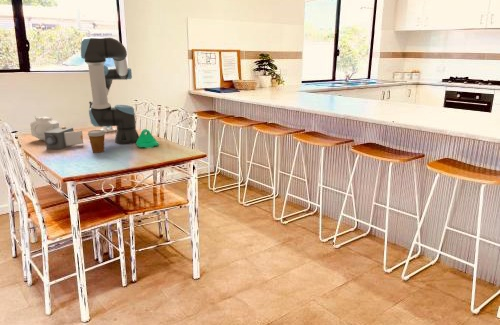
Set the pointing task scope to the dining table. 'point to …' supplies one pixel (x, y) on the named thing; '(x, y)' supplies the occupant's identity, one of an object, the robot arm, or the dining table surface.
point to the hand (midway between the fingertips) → (91, 123)
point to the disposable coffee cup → (97, 140)
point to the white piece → (108, 128)
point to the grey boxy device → (56, 138)
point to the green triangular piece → (146, 140)
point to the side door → (73, 138)
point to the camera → (42, 126)
